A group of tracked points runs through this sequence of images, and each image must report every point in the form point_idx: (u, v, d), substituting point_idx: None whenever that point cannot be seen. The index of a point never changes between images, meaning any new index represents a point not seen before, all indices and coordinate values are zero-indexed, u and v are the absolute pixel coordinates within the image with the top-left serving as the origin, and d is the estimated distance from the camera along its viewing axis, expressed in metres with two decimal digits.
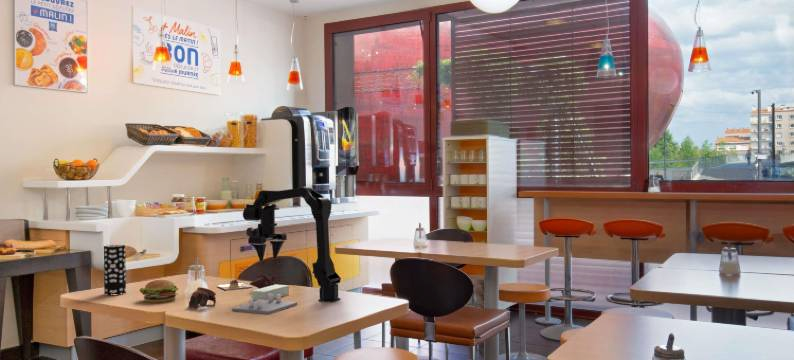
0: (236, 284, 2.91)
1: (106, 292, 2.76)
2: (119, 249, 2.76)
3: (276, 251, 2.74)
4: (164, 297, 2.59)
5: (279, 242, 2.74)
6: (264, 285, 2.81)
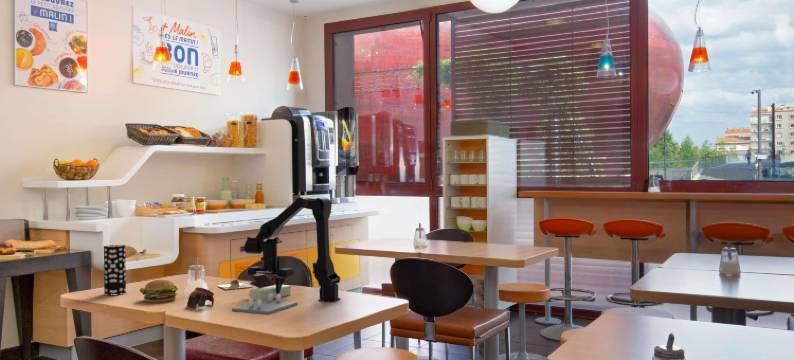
0: (237, 284, 2.91)
1: (106, 292, 2.76)
2: (119, 249, 2.76)
3: None
4: (164, 297, 2.59)
5: None
6: (264, 285, 2.81)
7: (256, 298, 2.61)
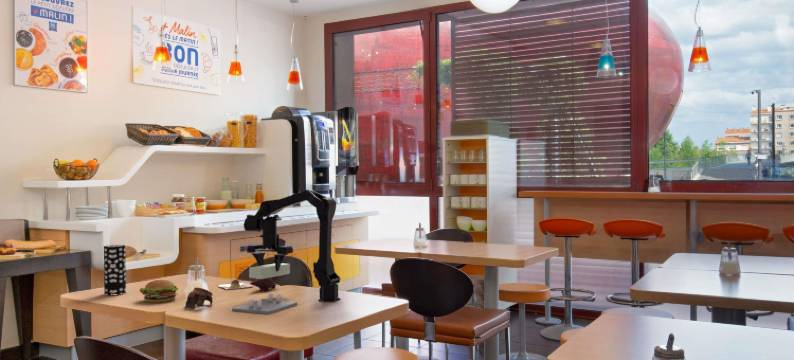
0: (237, 284, 2.92)
1: (106, 292, 2.76)
2: (119, 249, 2.76)
3: None
4: (164, 297, 2.59)
5: None
6: (264, 285, 2.82)
7: (256, 275, 2.60)
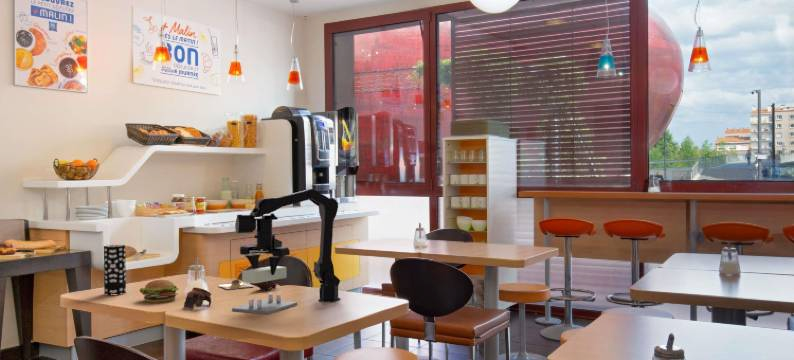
0: (238, 284, 2.92)
1: (106, 292, 2.76)
2: (119, 249, 2.76)
3: None
4: (164, 297, 2.59)
5: None
6: (265, 285, 2.82)
7: (249, 279, 2.40)
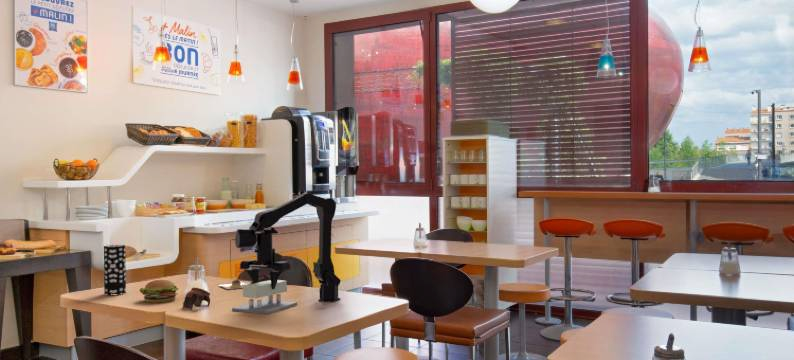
0: (238, 284, 2.92)
1: (106, 292, 2.76)
2: (119, 249, 2.76)
3: None
4: (164, 297, 2.59)
5: None
6: None
7: (250, 294, 2.39)
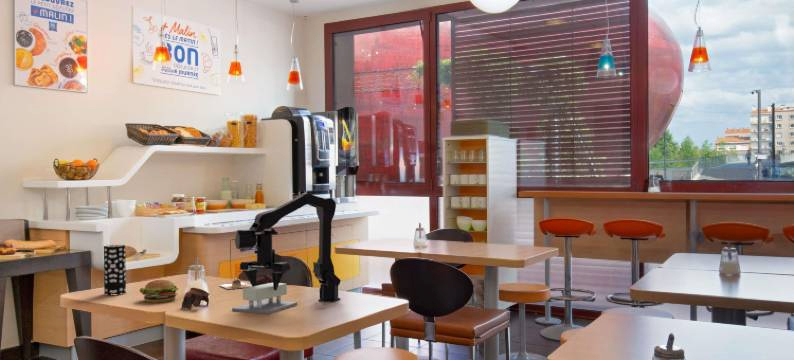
0: (238, 284, 2.92)
1: (106, 292, 2.76)
2: (119, 249, 2.76)
3: None
4: (164, 297, 2.59)
5: None
6: None
7: (250, 297, 2.38)
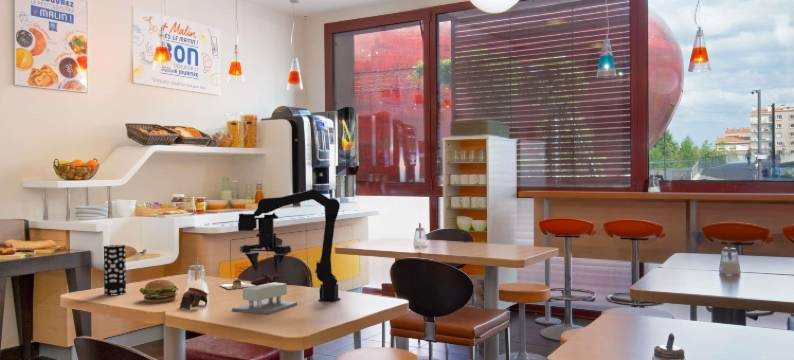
0: (239, 283, 2.93)
1: (106, 292, 2.76)
2: (119, 249, 2.76)
3: None
4: (164, 297, 2.59)
5: None
6: None
7: (250, 297, 2.38)
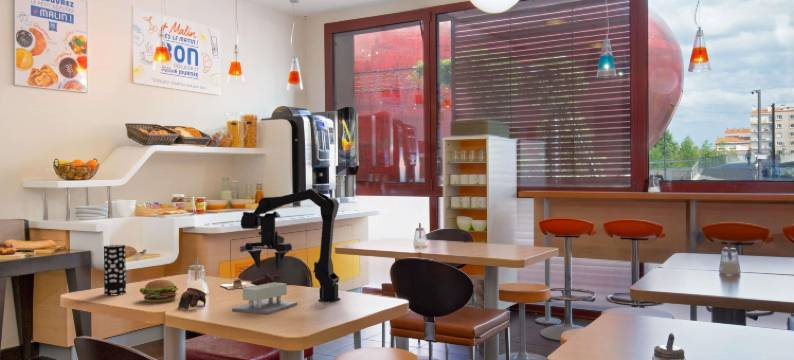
0: (240, 283, 2.93)
1: (106, 292, 2.76)
2: (119, 249, 2.76)
3: None
4: (164, 297, 2.59)
5: None
6: None
7: (250, 297, 2.38)
